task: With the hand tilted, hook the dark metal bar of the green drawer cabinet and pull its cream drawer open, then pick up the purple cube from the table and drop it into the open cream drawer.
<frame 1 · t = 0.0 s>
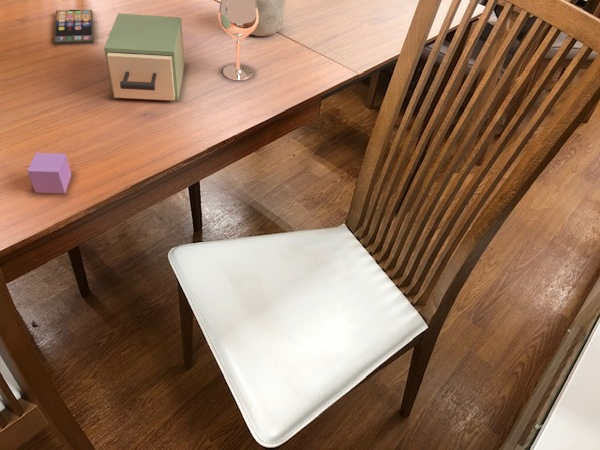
planter: (259, 29, 127), on the table
green drawer cabinet: (150, 80, 106), on the table
purple cube: (53, 183, 82), on the table
smartphone: (75, 29, 118), on the table
cream drawer: (145, 67, 99), point 5 cm above the table, slide at 0.0 cm
wineglass: (237, 73, 112), on the table
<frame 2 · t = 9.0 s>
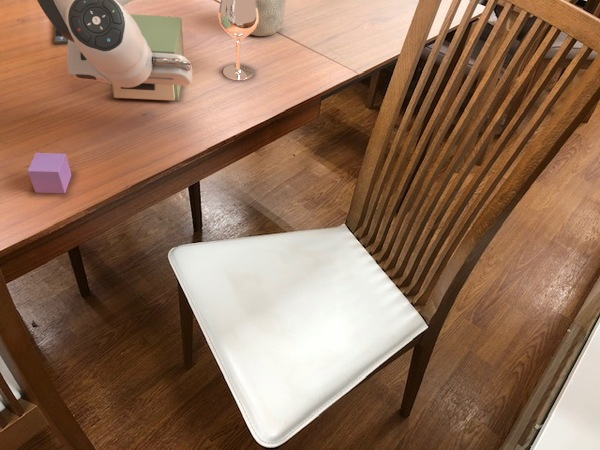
hand: (140, 80, 95), 6 cm above the table, tool tilted 45°, fingers closed, pressing on cream drawer
cream drawer: (145, 67, 99), point 5 cm above the table, slide at 0.0 cm, touching gripper
everything else where it was.
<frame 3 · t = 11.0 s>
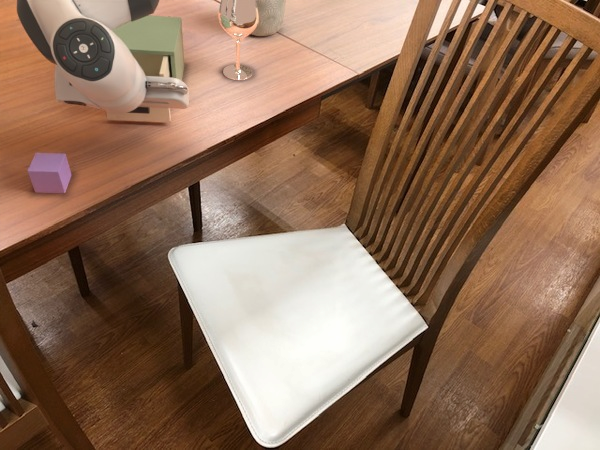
hand: (134, 102, 90), 6 cm above the table, tool tilted 45°, fingers closed, pressing on cream drawer
cream drawer: (139, 87, 94), point 5 cm above the table, slide at 7.5 cm, touching gripper
everything else where it was.
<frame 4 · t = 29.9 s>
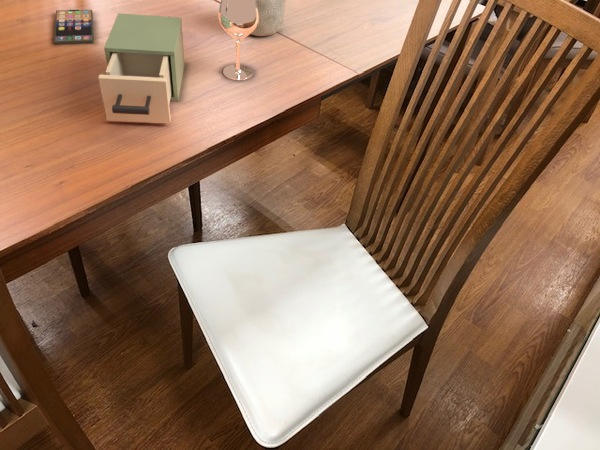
purple cube: (141, 103, 96), point 2 cm above the table, touching cream drawer
cream drawer: (139, 88, 94), point 5 cm above the table, slide at 7.8 cm, touching purple cube
everything else where it was.
at the end: cream drawer slide at 7.8 cm; purple cube inside the target area in the cream drawer (1.3 cm from its centre), point 2.0 cm above the green drawer cabinet's base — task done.
